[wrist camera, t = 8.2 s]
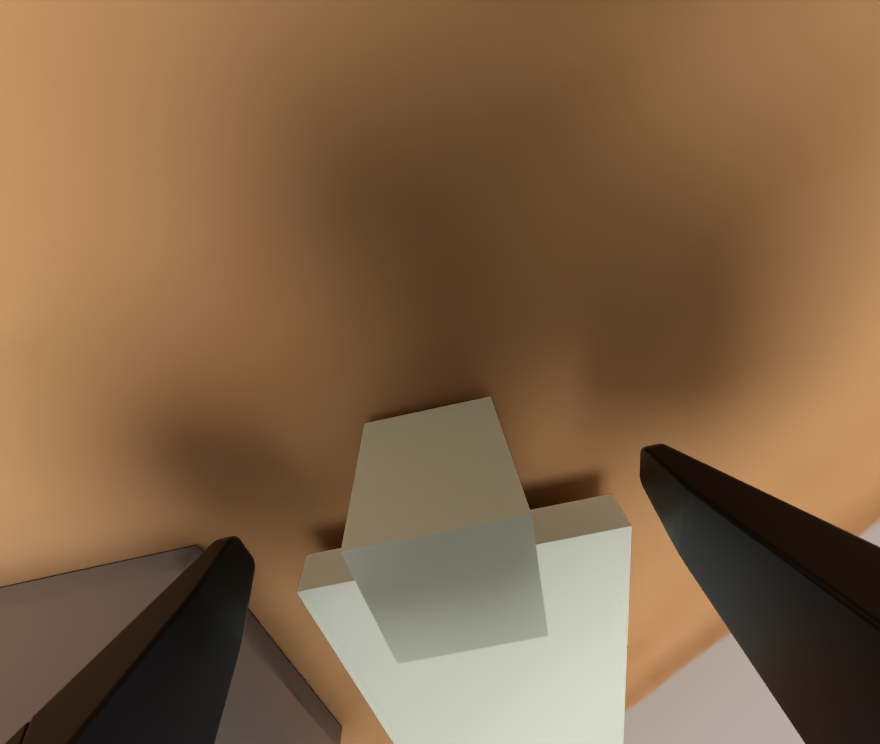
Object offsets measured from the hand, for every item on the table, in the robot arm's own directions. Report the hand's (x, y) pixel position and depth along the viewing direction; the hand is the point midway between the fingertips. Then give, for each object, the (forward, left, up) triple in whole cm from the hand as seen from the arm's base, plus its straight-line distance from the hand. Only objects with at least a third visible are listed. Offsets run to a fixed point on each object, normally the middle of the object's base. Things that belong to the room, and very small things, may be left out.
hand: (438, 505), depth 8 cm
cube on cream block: (-9, 0, -3) cm, 9 cm away
